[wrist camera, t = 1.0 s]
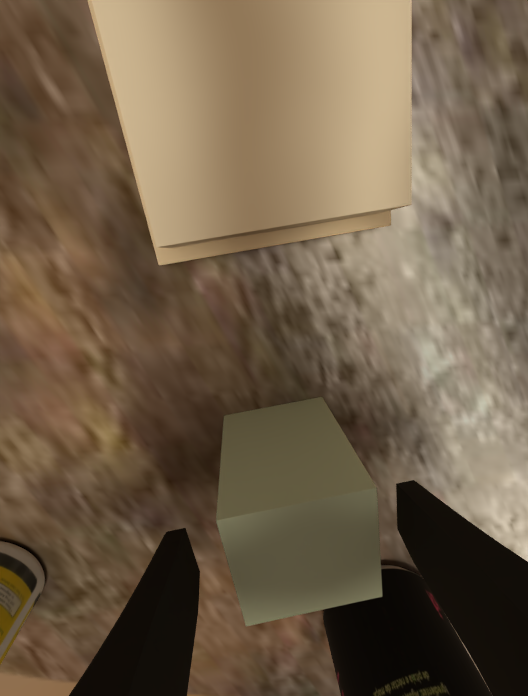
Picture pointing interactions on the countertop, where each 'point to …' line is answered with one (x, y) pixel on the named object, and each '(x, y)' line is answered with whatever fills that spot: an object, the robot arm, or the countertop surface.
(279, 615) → the green block
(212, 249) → the tower base
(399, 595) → the beverage can
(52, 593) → the countertop surface
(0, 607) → the supplement bottle
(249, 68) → the tan square tile
